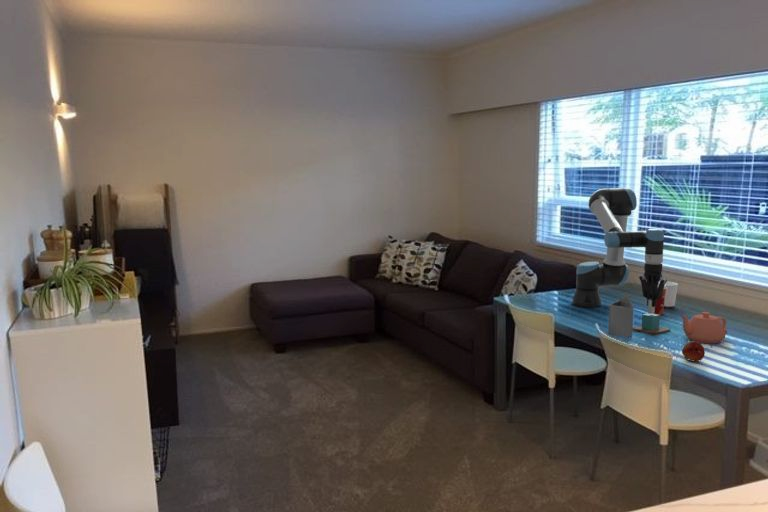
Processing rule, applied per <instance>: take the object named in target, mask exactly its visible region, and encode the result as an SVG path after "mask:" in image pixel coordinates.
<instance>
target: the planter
mask: <svg viewBox="0 0 768 512" xmlns="http://www.w3.org/2000/svg"><path fill="white" fill-rule="evenodd" d="M608 308H609V309H608V332H609V333H608V334H610V333H612V334H611V335H614V334H615V335H614V336H619V337H624V338H629V337H630V338H631V339H632V338H633V333H634V332H633V331H634V330H633V327H634V306H633V303H632V300H631V299H630V295H629V293H628V291H626V292H625V293H624V294H623V295H622V297H621V298H620V299H618V300H617V301H615V302H611V303H610V304H609V306H608Z"/></svg>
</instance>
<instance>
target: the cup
mask: <svg viewBox="0 0 768 512" xmlns="http://www.w3.org/2000/svg"><path fill="white" fill-rule="evenodd" d="M659 283H660V282H659ZM665 285H666V288H667V289H666V293H665V302H664V308H665V309H669V308H672V309H673V308H674V307H675V305H676V299H677V292H678V287H679V283H677V282H672V281H667V282H666V283H665Z"/></svg>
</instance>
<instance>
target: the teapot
mask: <svg viewBox="0 0 768 512" xmlns="http://www.w3.org/2000/svg"><path fill="white" fill-rule="evenodd" d="M680 316H681V318H682V320H683V322H682V330H683V332H684V335H685V336H686V338H688V339H689V341H691V342H693V341H695V342H698V343H700V344H719V343H721V342H722V341H724V340H725V338H726V335H727V333H728V330H727V329H725V328H726V325H727V320H726V318H724V317H723V316H715V315H711V313H710V312H708V311H703V312H701V314H695V315H693V316H692V317H691V319H690V320H689V319H688V317H687V315H683V314H680ZM721 320H722V322H721Z"/></svg>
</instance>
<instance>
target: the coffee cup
mask: <svg viewBox="0 0 768 512" xmlns="http://www.w3.org/2000/svg"><path fill="white" fill-rule="evenodd" d="M658 286H659V284H658ZM666 289H667V288H666V285H664V289H663V292H662V296H661V299H657V300H656V307H655V312H654V313H653V314H657V315H659V316H661V315H664V308H665V306H664V302H665V293H666ZM651 299H652V298H651Z"/></svg>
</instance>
